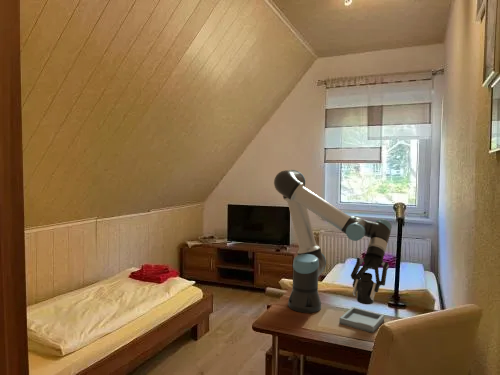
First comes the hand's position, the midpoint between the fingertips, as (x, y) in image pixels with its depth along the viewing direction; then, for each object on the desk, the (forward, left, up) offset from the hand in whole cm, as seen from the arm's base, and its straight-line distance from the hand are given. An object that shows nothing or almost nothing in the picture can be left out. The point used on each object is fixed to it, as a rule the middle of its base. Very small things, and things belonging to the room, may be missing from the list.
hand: (362, 296), depth 152 cm
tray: (-1, +3, -12) cm, 13 cm away
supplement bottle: (0, +4, -4) cm, 5 cm away
